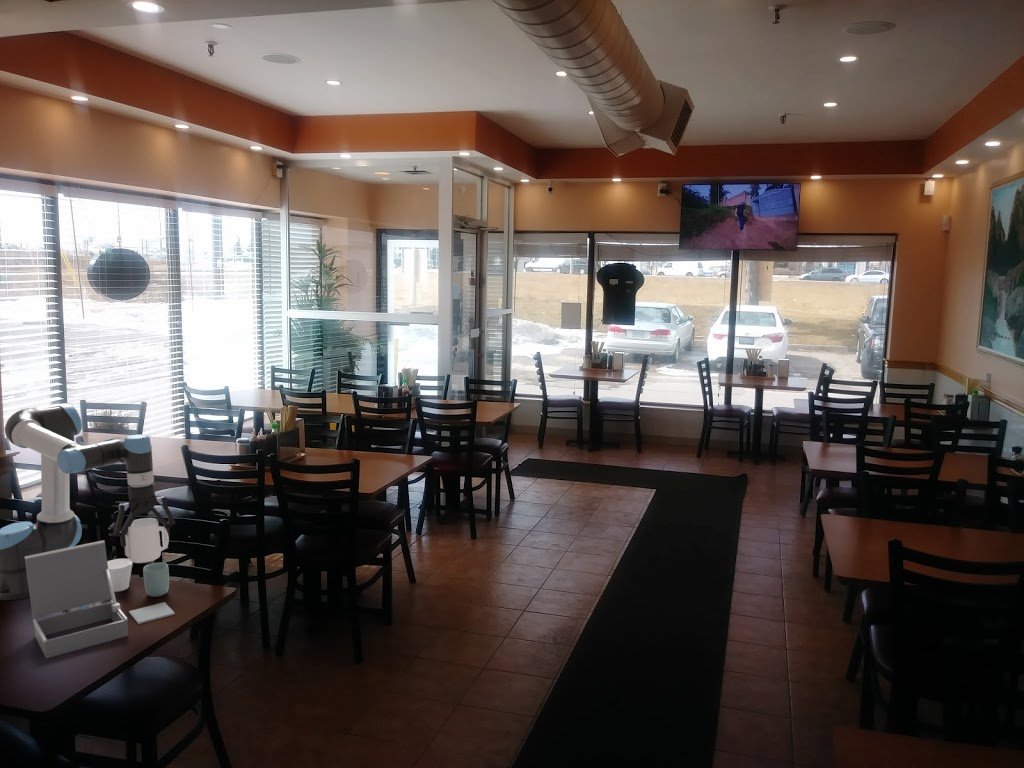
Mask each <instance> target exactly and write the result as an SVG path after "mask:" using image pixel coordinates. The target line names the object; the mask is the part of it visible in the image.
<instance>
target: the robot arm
mask: <svg viewBox="0 0 1024 768" xmlns="http://www.w3.org/2000/svg"><path fill="white" fill-rule="evenodd" d="M82 429H83V424H82V418H81V416H80V414H79V412H78V410H77V409H76V407H74V406H73V405H71V404H70V403H66V402H65V403H53V404H49V405H48V404H47V405H41V406H36V407H27V408H23V409H20V410H18V411H16V412H15V413H12V414H11V416H9V418H8V419H7V421H6V423H5V425H4V434H5V436H6V439H8V442H10V444H12V445H14V446H16V447H18V448H21V449H30V450H32V451H35V452H37V453H39V454H40V467H41V469H40V470H41V473H40V477H41V478H40V479H41V481H40V482H41V483H40V484H41V489H40V490H41V511H39V513H37V515H36V523H33V522H31V521H26V520H25V521H20V522H13V523H10V524H8V525H6V526H3V527H2V528H0V601H14V600H16V601H17V600H21V599H25V598H26V599H27V598H30V592H29V585H28V577H27V569H26V562H25V556H30V555H35V554H40V553H45V552H50V551H55V550H60V549H64V548H69V547H74V546H77V544H78V543H79V542H80V540H81V538H82V535H83V534H82V531H83V530H82V529H83V527H82V524H81V520H80V518H79V516H77V515H76V514H75V512H74V511H73V510H71V508H70V474H78V473H81V472H84V471H88V470H93V469H97V468H102V467H107V466H111V465H116V464H124V465H125V467H126V468H125V469H126V479H127V485H128V487H127V489H128V490H127V493H128V501H127V502H125V503H118V505H117V506H118V507H117V508H118V513H117V517H116V520H115V524H114V527H113V532H112V534H113V535H114V536H115V537H119V539H120V540H119V541H120V545H121V547H124V555H125V556H126V557H127V558H129V557H130V551H129V539H128V536H127V535H126V534H127V532H128V527H130V526H131V524H132V523H133V521H134V520H136V519H135V518H137V516H138V515H143V514H147V513H152V514H153V515H154V516H155V517H156V519H157V520H158V522H159V523H161V525H163V526H162V527H163V528H164V529H166V531H167V533H168V536H169V538H170V537H171V531H170V529H171V527H172V526H174V525H175V524H176V521H175V519H174V516H173V514H172V512H171V510H170V508H169V506H168V504H167V497H165V496H164V495H161V496H160V497H159V496H158V497H156V491H155V490H156V489H155V487H156V486H155V483H154V481H155V478H154V467H153V451H152V450H153V447H152V443H151V438H150V436H149V435H147V434H132V435H128V436H126V437H124V438H121V437H109V438H106V439H105V440H104V441H101V442H97V443H95V442H94V443H90V444H85V445H84V444H80V443H77V442H75V436H78V435H80V434H81V431H82ZM157 502H158V504H160V506H161V507H162V510H163V511H164V514H165V516H166V518H167V520H168V521H167V520H166V519H165V518H164V517H163V516H162V515H161V514H160V513H159V512H158V510H157V509H156V508H155V505H156V504H157ZM128 508H130V509H131V510H130V512H129V514H128V517H127V518H126V520H125V522H124V524H123V521H124V517H125V514H126V511H127V510H128ZM122 525H123V526H122ZM161 539H162V547H164V546H165V544H166V534H165V533H164V531H161ZM166 549H169V546H167V548H166Z"/></svg>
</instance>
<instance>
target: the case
mask: <svg viewBox="0 0 1024 768" xmlns="http://www.w3.org/2000/svg"><path fill="white" fill-rule="evenodd" d="M105 571H106V576H107V580H108V584H109V589H110V593H111V597H112V599H110V601H109V602H106V603H101V605H97V606H93V607H88V608H84V609H80V610H76V611H72V612H68V613H64V614H62V613H61V614H57V615H52V616H49V617H46V618H45V617H44V618H41V619H37V620H36V618H33V619H32V622H33V627H34V628H33V629H34V637H35V639H36V641H37V643H38V645H39V647H40V649H41V651H42V653H43V655H44V657H45V659H49V658H53V657H57V656H61V655H64V654H67V653H72V652H74V651H78V650H82V649H86V648H89V647H90V648H91V647H93V646H96V645H100V644H103V643H107V642H111V641H114V640H118V639H121V638H122V639H123V638H125V637H129V628H128V627H129V626H128V617H127V616H126V615H125V613H124V612H123V611H122V610H121V604H120V603H119V602H117V599H116V594H115V592H114V590H113V586H112V581H111V577H110V573H109V569H106V570H105ZM110 619H111V620H112V622H110V623H107V624H101V625H98V626H95V627H91V628H88V629H83V630H81V631H76V632H73V633H69V634H65V635H61V636H56V637H54V638H49V639H48V638H47V636H48V635H52V634H56V633H60V632H65V631H68V630H71V629H75V628H79V627H82V626H86V625H90V624H91V625H92V624H94V623H97V622H99V623H100V622H103V621H106V620H110Z"/></svg>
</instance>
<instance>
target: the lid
mask: <svg viewBox="0 0 1024 768" xmlns="http://www.w3.org/2000/svg"><path fill="white" fill-rule="evenodd" d="M25 562H26V569H27V577H28V585H29V592H30V597H29V598H30V607H31V614H32V618H33V619H36V618H39V617H43V616H47V615H51V614H55V613H58V612H60V613H61V611H64V610H68V609H72V608H76V607H80V606H84V605H88V604H92V603H96V602H100V601H101V602H104V601H108V600H112V597H111V593H110V589H109V584H108V580H107V576H106V571H105V570H106V569H108V563H107V562H108V557H107V549H106V543H105V540H100V541H95V542H89V543H85V544H79V545H75V546H73V547H69V548H64V549H60V550H55V551H50V552H45V553H40V554H35V555H30V556H25Z"/></svg>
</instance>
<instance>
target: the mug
mask: <svg viewBox="0 0 1024 768" xmlns="http://www.w3.org/2000/svg"><path fill="white" fill-rule="evenodd" d="M163 527H164V526H162V525H159V519H158V518H155V517H153V518H152V517H145V518H138V519H134V521H133V523H132V524H131V526H130V527H128V532H127V534H126V535H127V536H128V539H129V551H130V557H128V559H129V560H130V561H131V562H132V563H134V564H143V563H149V562H153V561H156V560H157V559H159V558H160V556H161V555H162V554H161V552H162V551H165V550H166V549H168V548H167V546H168V545H169V542H170V537H169V536H168V533H167V531H166V529H164V528H163ZM162 531H164V533H165V534H166V544H165V546H164V547H163V546H161V537H160V532H162ZM168 547H169V546H168Z"/></svg>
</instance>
